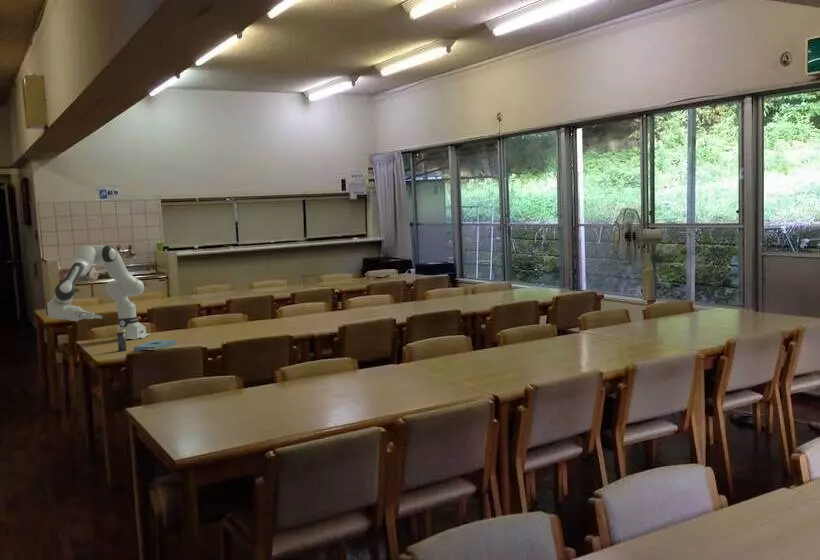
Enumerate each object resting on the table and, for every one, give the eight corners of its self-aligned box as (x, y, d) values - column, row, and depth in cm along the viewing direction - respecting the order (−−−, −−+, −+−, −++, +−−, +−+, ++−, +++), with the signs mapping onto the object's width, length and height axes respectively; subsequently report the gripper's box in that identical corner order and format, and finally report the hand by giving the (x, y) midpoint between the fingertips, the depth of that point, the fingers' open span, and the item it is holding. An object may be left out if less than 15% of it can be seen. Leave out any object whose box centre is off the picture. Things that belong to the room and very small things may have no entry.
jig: (155, 344, 445) (154, 340, 445) (175, 343, 442) (175, 339, 442) (133, 351, 424) (133, 346, 424) (155, 350, 421) (154, 346, 421)
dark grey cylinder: (121, 349, 432) (119, 329, 430) (129, 349, 430) (127, 329, 429) (115, 351, 426) (113, 331, 425) (123, 351, 425) (121, 331, 424)
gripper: (77, 308, 410) (103, 311, 416) (76, 308, 428) (101, 311, 434) (75, 319, 409) (101, 322, 415) (74, 318, 427) (100, 322, 433)
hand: (101, 317), depth 425 cm, fingers open, 8 cm apart
